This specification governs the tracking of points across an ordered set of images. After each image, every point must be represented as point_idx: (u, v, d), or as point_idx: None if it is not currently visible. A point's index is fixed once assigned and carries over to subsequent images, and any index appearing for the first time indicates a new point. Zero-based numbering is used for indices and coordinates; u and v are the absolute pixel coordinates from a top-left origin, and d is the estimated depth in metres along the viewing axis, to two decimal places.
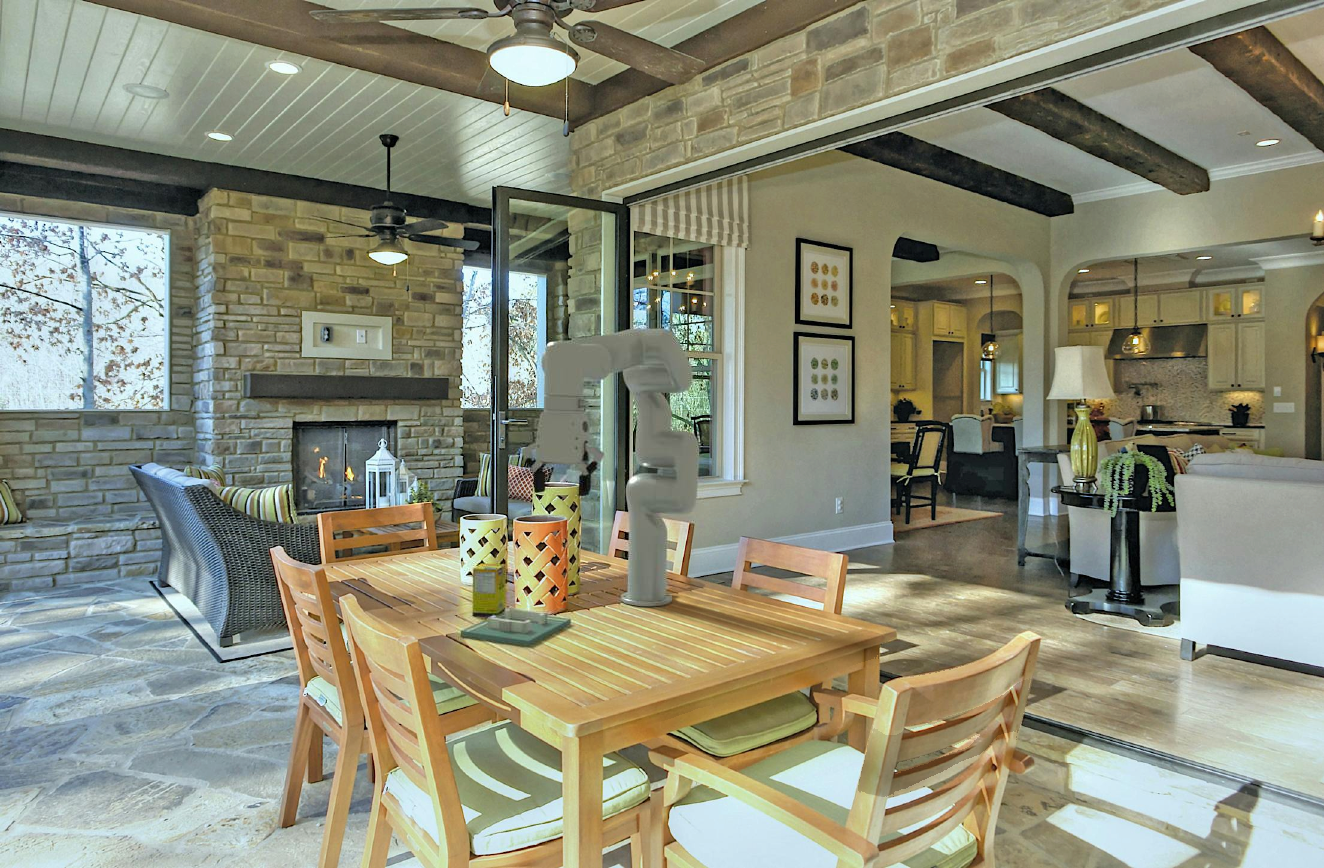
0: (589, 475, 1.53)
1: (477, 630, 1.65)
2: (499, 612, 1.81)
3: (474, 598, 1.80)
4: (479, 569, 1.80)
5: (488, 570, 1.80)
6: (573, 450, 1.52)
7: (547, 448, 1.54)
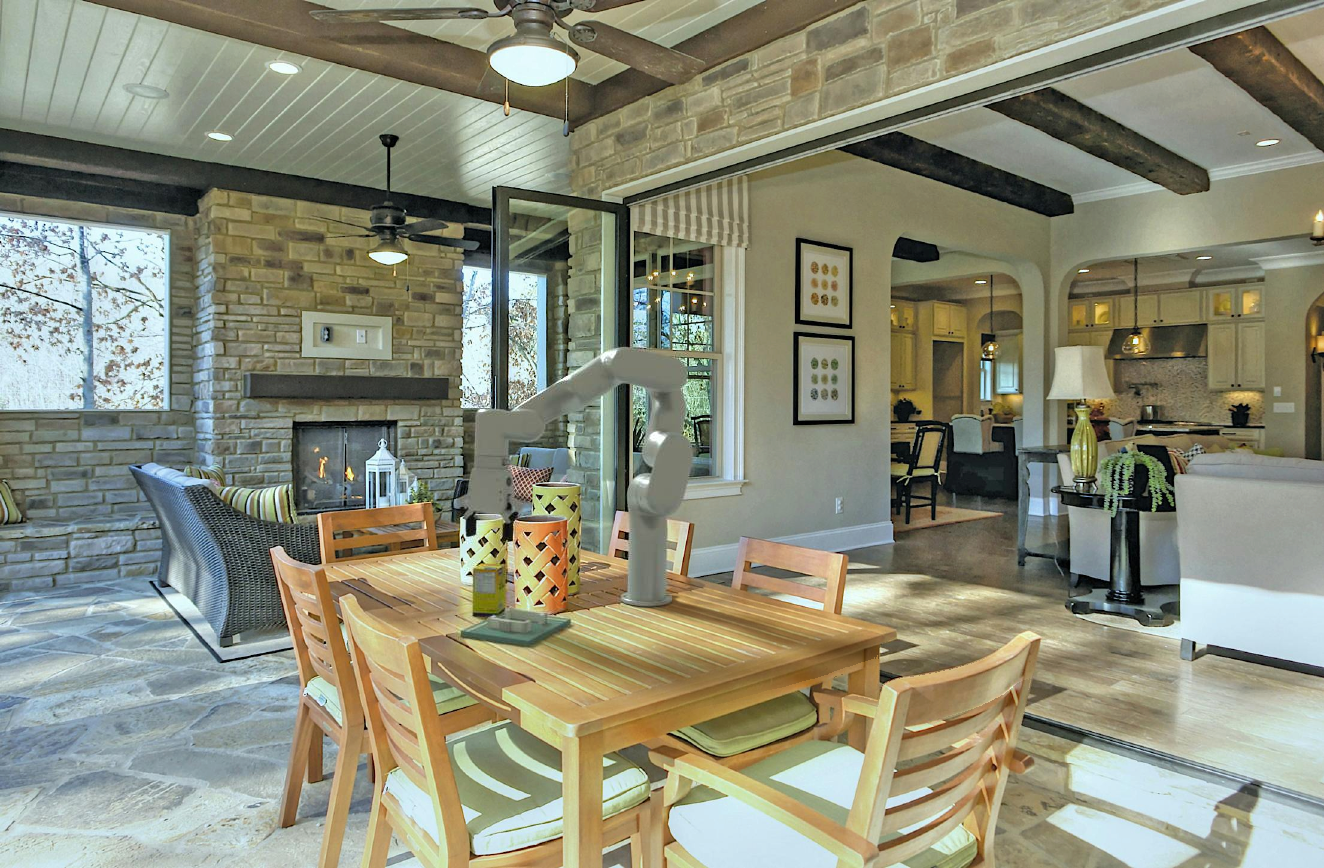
0: (512, 523, 1.80)
1: (477, 630, 1.65)
2: (499, 612, 1.81)
3: (474, 598, 1.80)
4: (479, 569, 1.80)
5: (488, 570, 1.80)
6: (497, 502, 1.79)
7: (476, 499, 1.81)
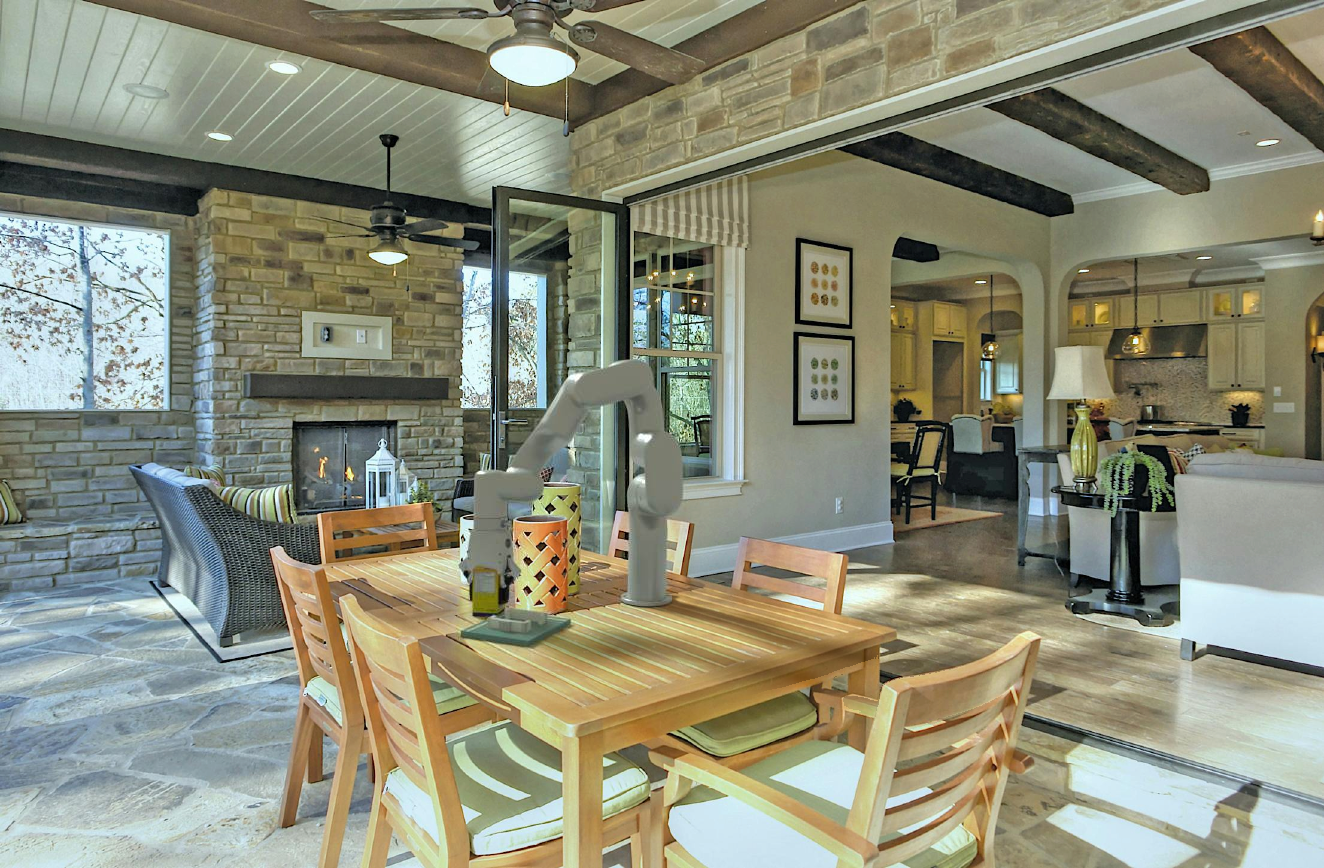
0: (507, 587, 1.81)
1: (477, 630, 1.65)
2: (499, 612, 1.81)
3: (474, 598, 1.80)
4: (479, 569, 1.80)
5: (488, 570, 1.80)
6: (497, 564, 1.79)
7: (476, 561, 1.81)
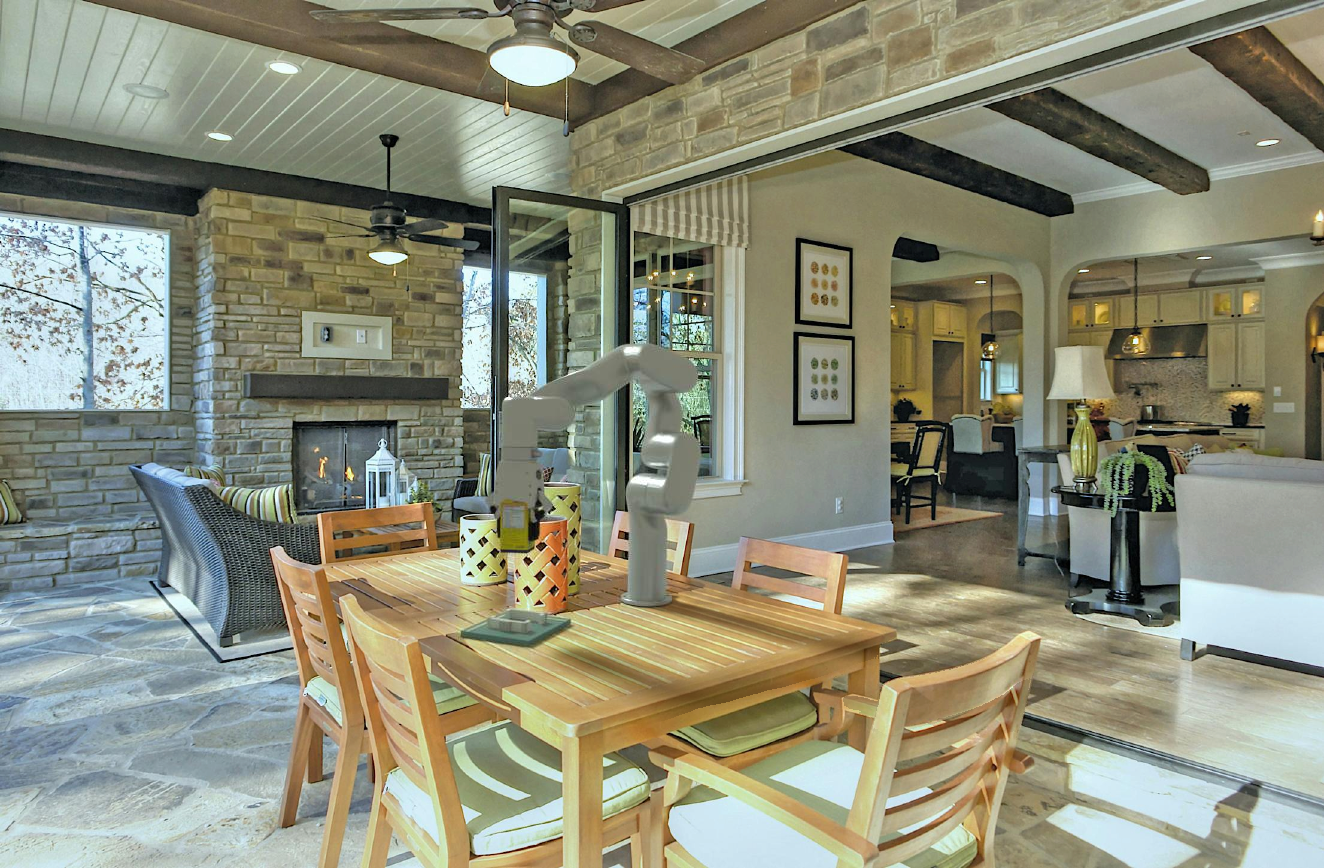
0: (537, 522, 1.68)
1: (477, 630, 1.65)
2: (529, 549, 1.68)
3: (502, 534, 1.67)
4: (507, 502, 1.67)
5: (517, 503, 1.67)
6: (527, 496, 1.66)
7: (504, 494, 1.68)
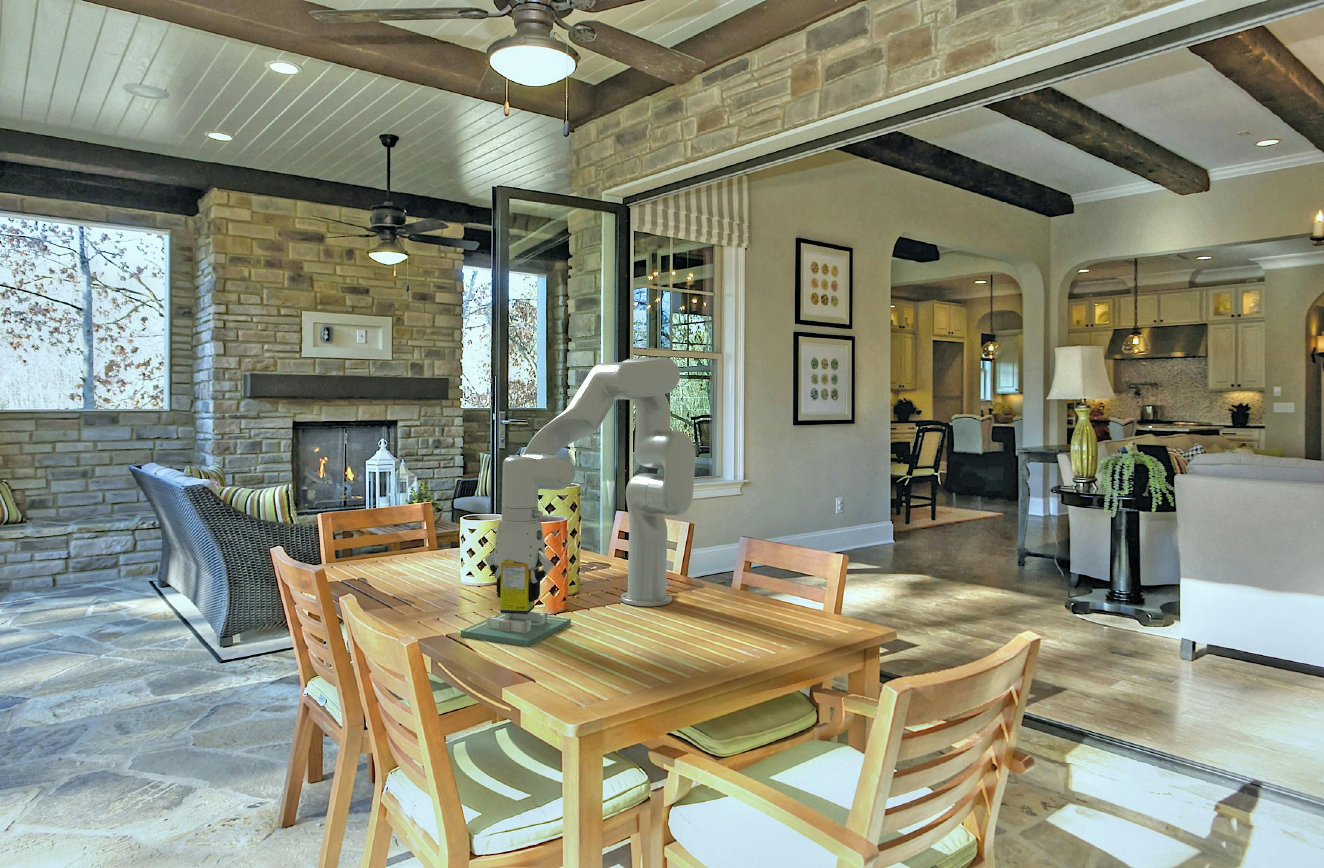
0: (537, 582, 1.68)
1: (477, 630, 1.65)
2: (529, 609, 1.68)
3: (502, 594, 1.67)
4: (508, 563, 1.67)
5: (517, 564, 1.67)
6: (527, 557, 1.66)
7: (504, 554, 1.68)
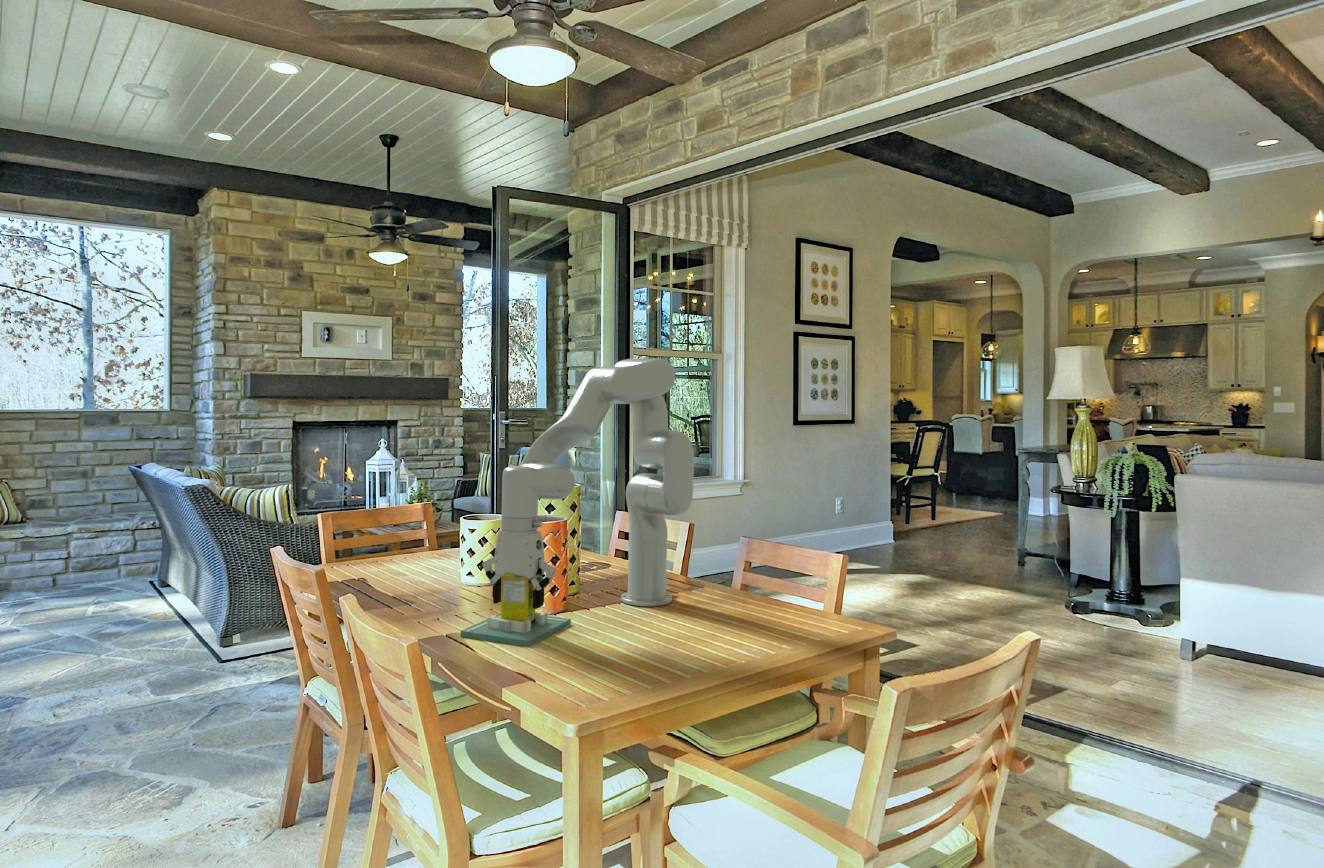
0: (542, 589, 1.68)
1: (477, 630, 1.65)
2: None
3: (502, 608, 1.67)
4: (508, 576, 1.67)
5: (518, 578, 1.67)
6: (527, 567, 1.66)
7: (504, 564, 1.68)
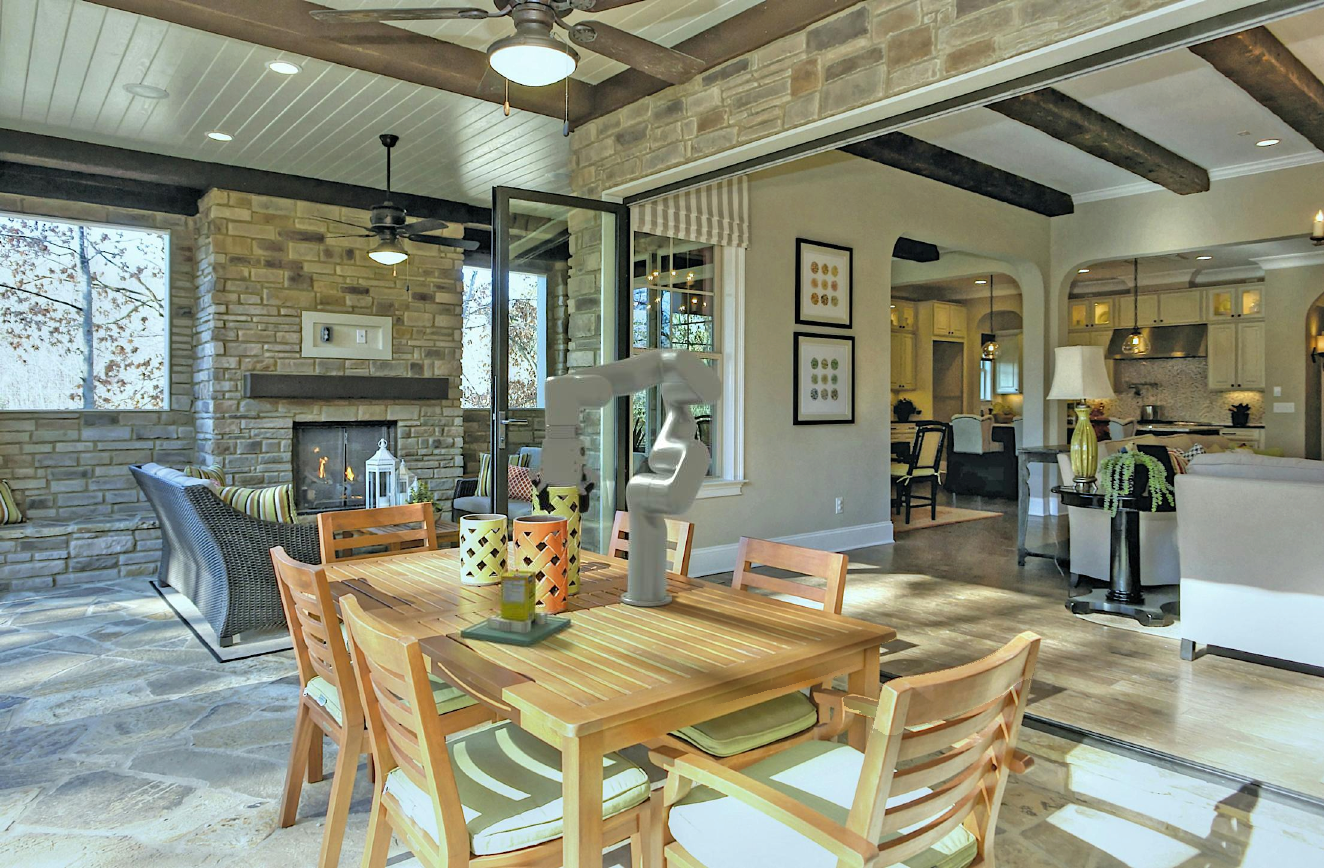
0: (588, 494, 1.73)
1: (477, 630, 1.65)
2: None
3: (502, 608, 1.67)
4: (508, 577, 1.67)
5: (517, 578, 1.67)
6: (572, 473, 1.71)
7: (550, 471, 1.73)
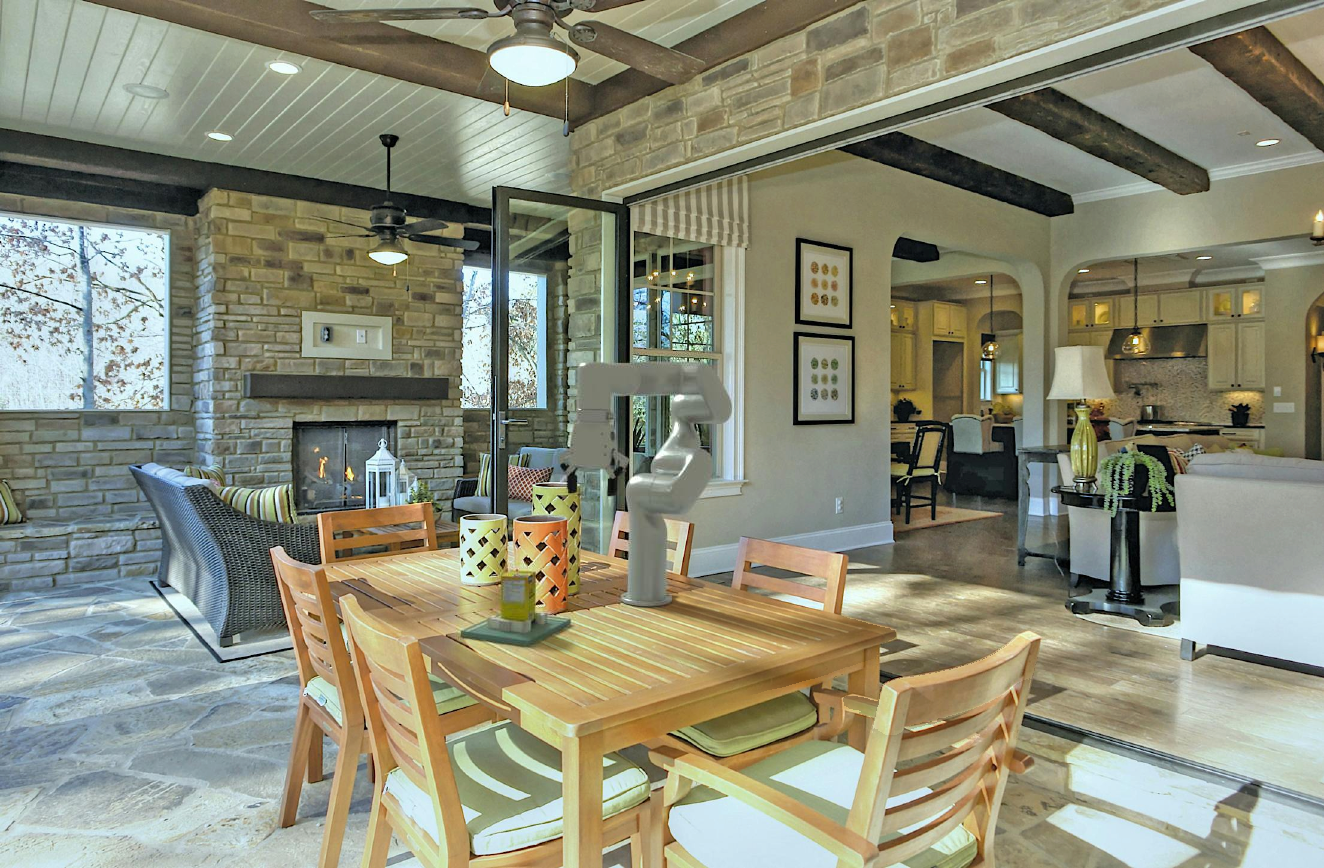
0: (616, 478, 1.76)
1: (477, 630, 1.65)
2: None
3: (502, 608, 1.67)
4: (508, 577, 1.67)
5: (517, 578, 1.67)
6: (602, 456, 1.75)
7: (579, 455, 1.77)
